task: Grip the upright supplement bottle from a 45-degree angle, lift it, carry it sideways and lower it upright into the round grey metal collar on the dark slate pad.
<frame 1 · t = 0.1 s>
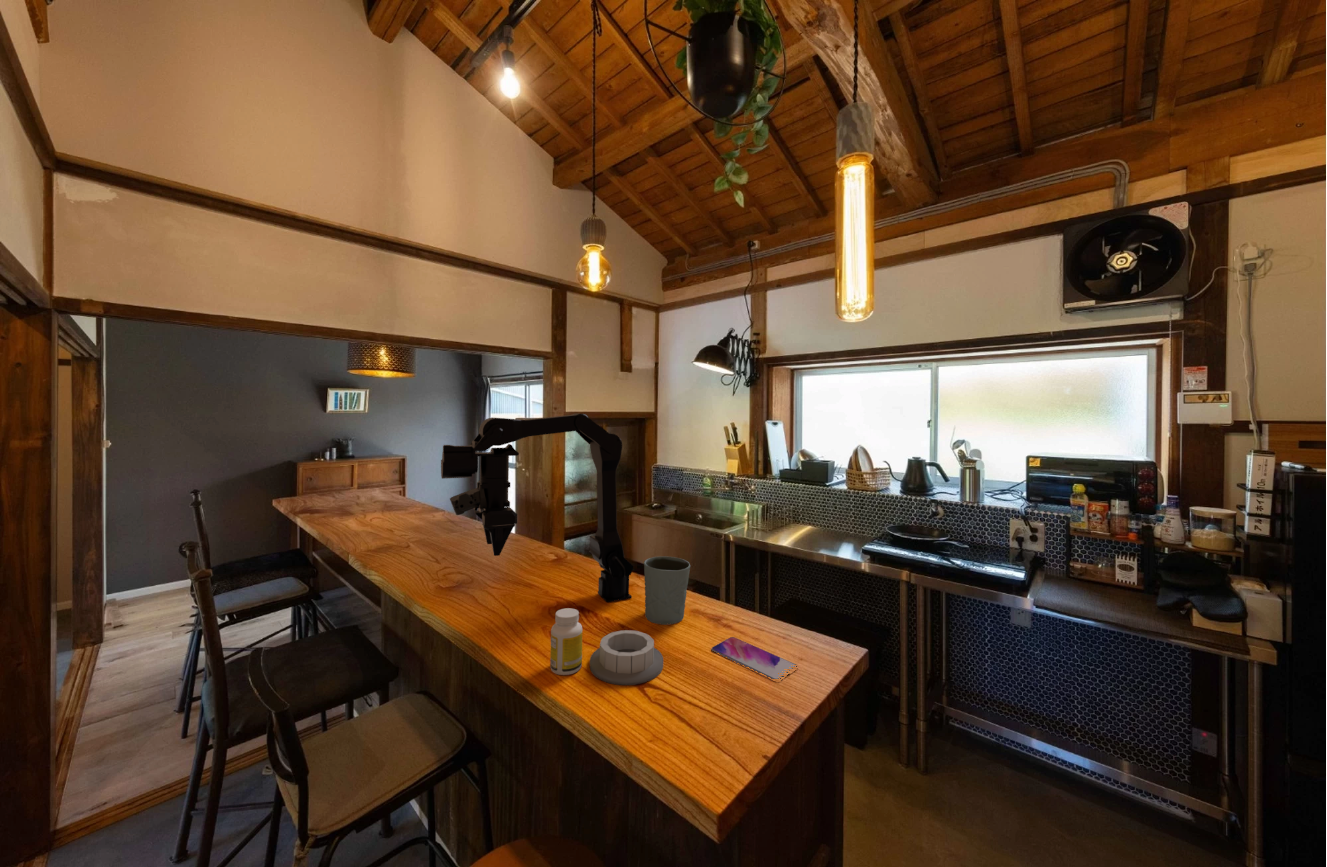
hand: (493, 549, 102), 15 cm above the table, tool pointing down, fingers open, 9 cm apart
supplement bottle: (566, 669, 84), on the table
socket collar: (626, 664, 85), on the table
grey green cup: (665, 617, 106), on the table
smartphone: (753, 662, 89), on the table
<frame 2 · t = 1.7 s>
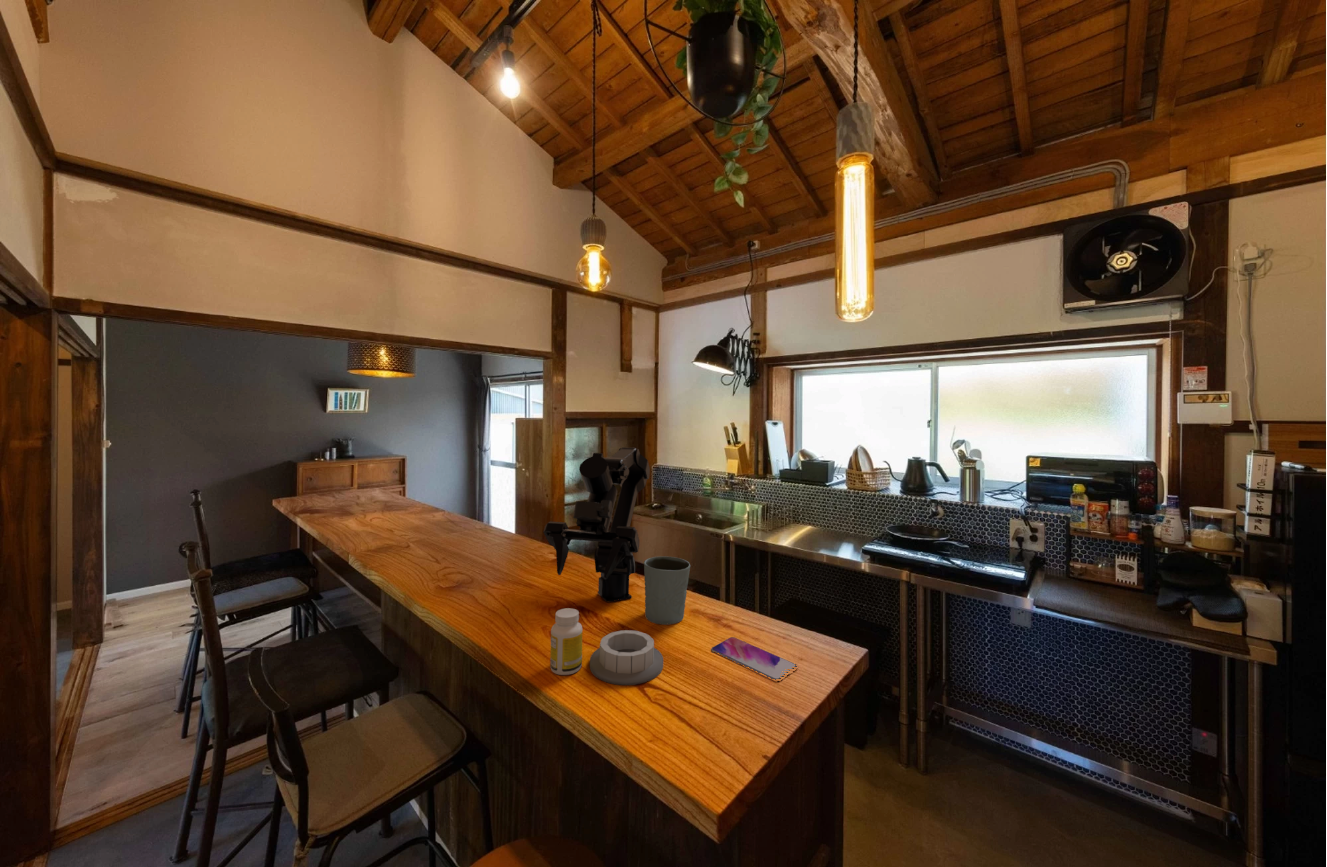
hand: (581, 576, 91), 13 cm above the table, tool tilted 45°, fingers open, 9 cm apart
nothing on the table moved.
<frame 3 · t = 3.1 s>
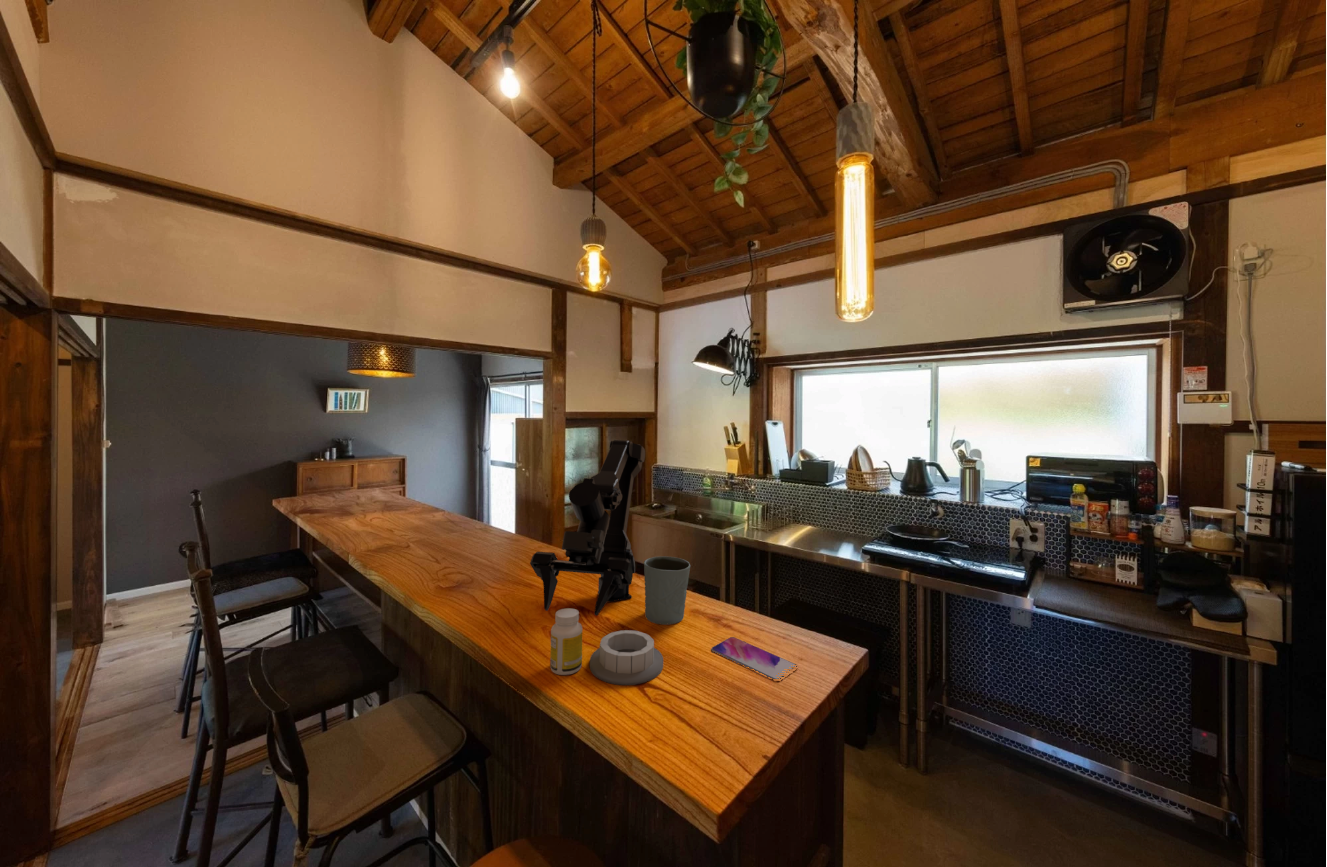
hand: (570, 612, 85), 9 cm above the table, tool tilted 45°, fingers open, 9 cm apart
nothing on the table moved.
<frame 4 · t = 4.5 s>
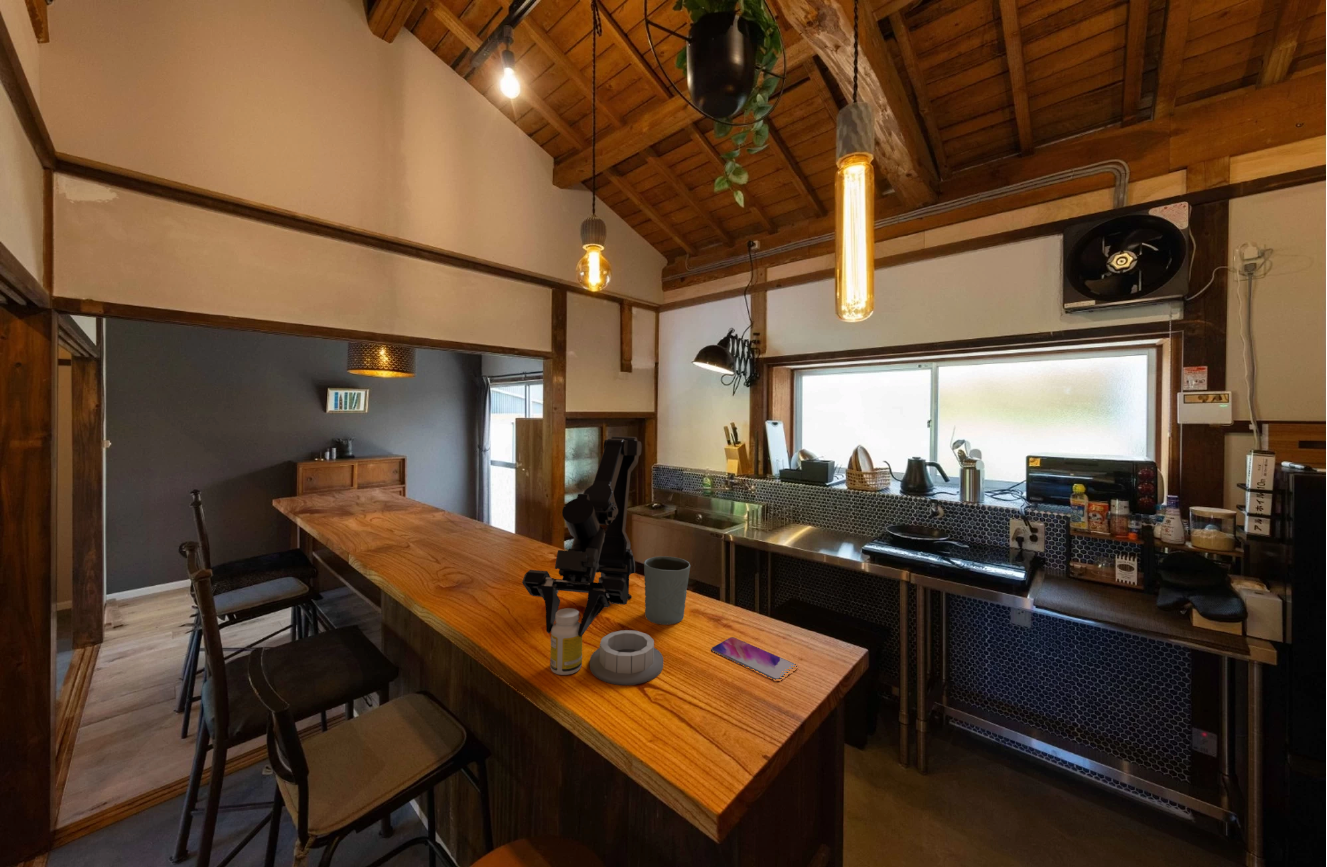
hand: (563, 634, 82), 7 cm above the table, tool tilted 45°, fingers closed on supplement bottle, 5 cm apart
supplement bottle: (566, 668, 84), on the table, touching gripper
everything else where it was.
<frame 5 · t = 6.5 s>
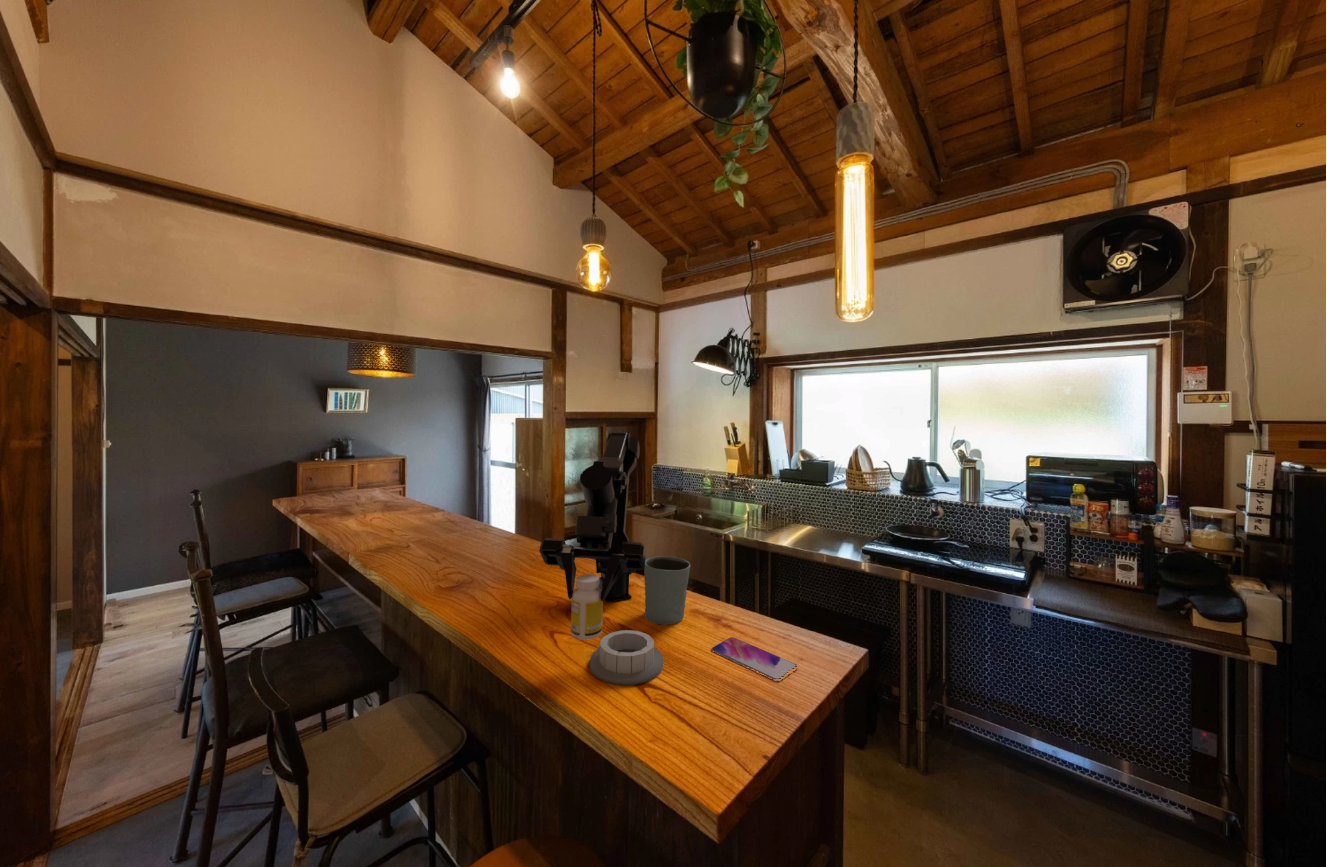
hand: (585, 599, 82), 13 cm above the table, tool tilted 45°, fingers closed on supplement bottle, 5 cm apart
supplement bottle: (586, 634, 84), point 6 cm above the table, touching gripper
everything else where it was.
when the fingers open (9 cm above the table, at t = 8.4 s): supplement bottle drops 1 cm, resting on socket collar.
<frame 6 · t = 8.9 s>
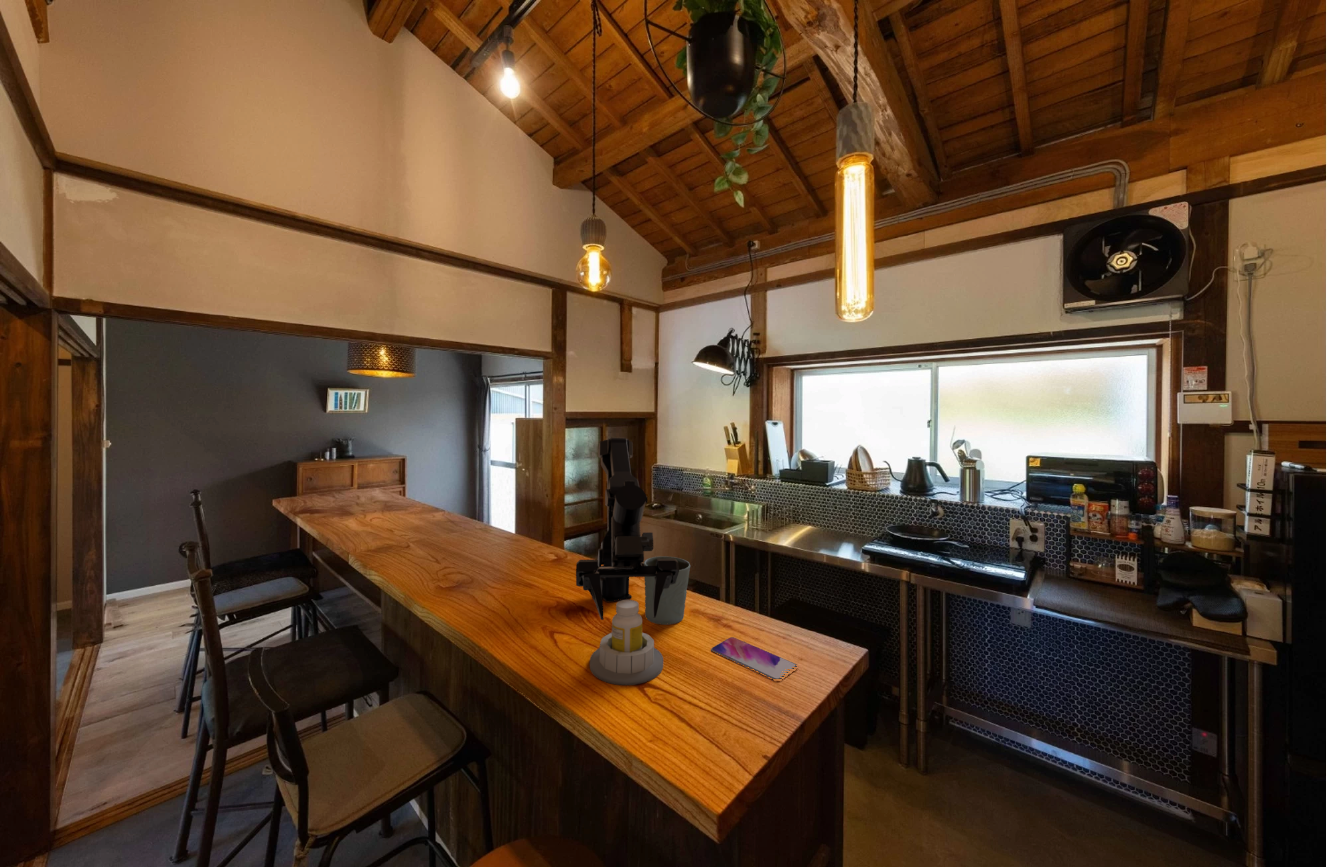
hand: (628, 618, 84), 9 cm above the table, tool tilted 45°, fingers open, 9 cm apart
supplement bottle: (626, 659, 86), point 1 cm above the table, touching socket collar
everything else where it was.
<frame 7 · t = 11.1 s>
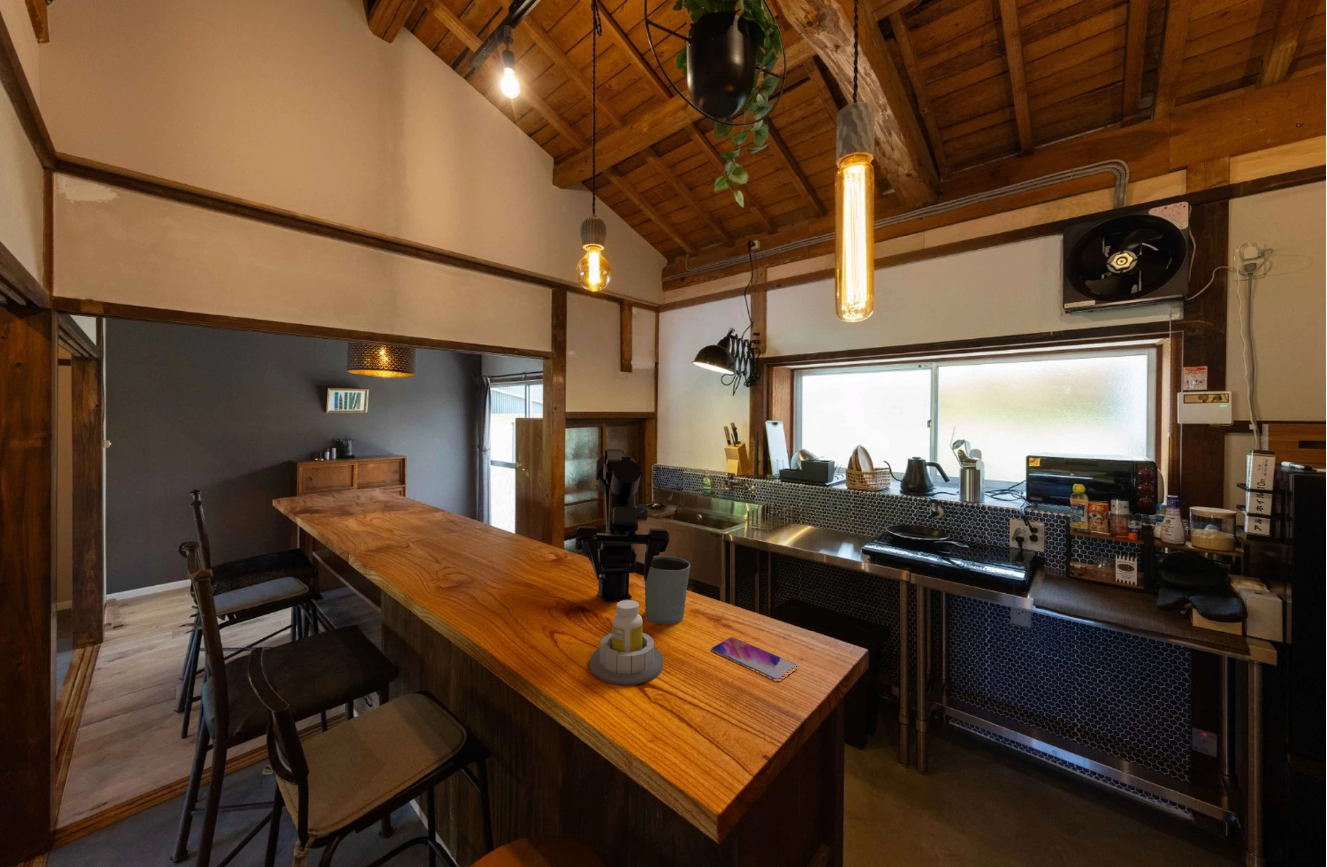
hand: (622, 579, 93), 12 cm above the table, tool tilted 40°, fingers open, 9 cm apart
nothing on the table moved.
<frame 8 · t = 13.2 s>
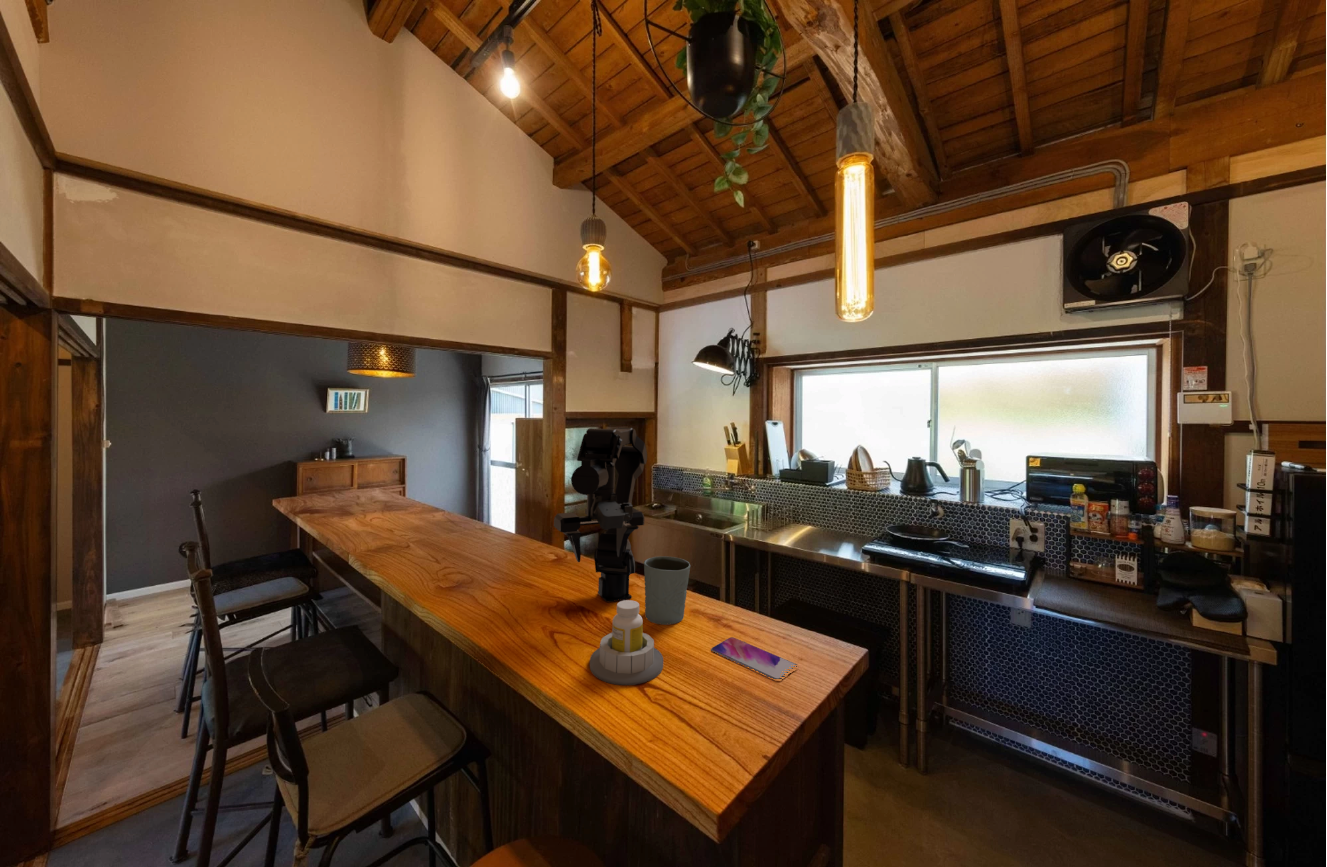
hand: (599, 559, 103), 13 cm above the table, tool pointing down, fingers open, 9 cm apart
nothing on the table moved.
at the end: supplement bottle 0.2 cm off-centre on the socket collar, point 0.8 cm above the socket collar's base; supplement bottle tilted 0°; the gripper is holding nothing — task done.
